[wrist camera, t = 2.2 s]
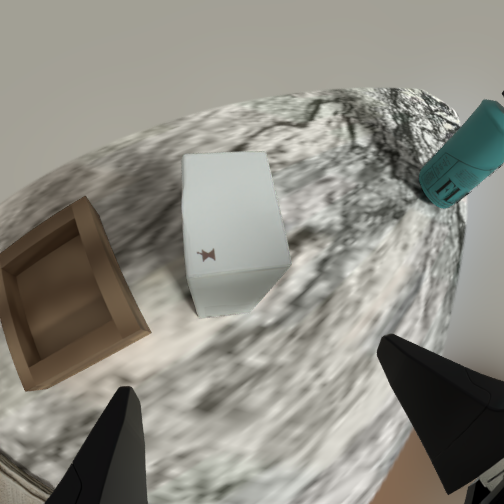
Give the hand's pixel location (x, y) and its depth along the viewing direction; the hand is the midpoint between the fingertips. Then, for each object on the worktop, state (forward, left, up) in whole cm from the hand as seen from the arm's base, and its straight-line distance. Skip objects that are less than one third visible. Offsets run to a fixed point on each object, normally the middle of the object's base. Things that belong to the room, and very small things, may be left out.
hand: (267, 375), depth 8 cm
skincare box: (+6, -2, -13) cm, 14 cm away
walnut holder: (+11, +11, -13) cm, 20 cm away
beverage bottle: (+2, -31, -13) cm, 34 cm away
